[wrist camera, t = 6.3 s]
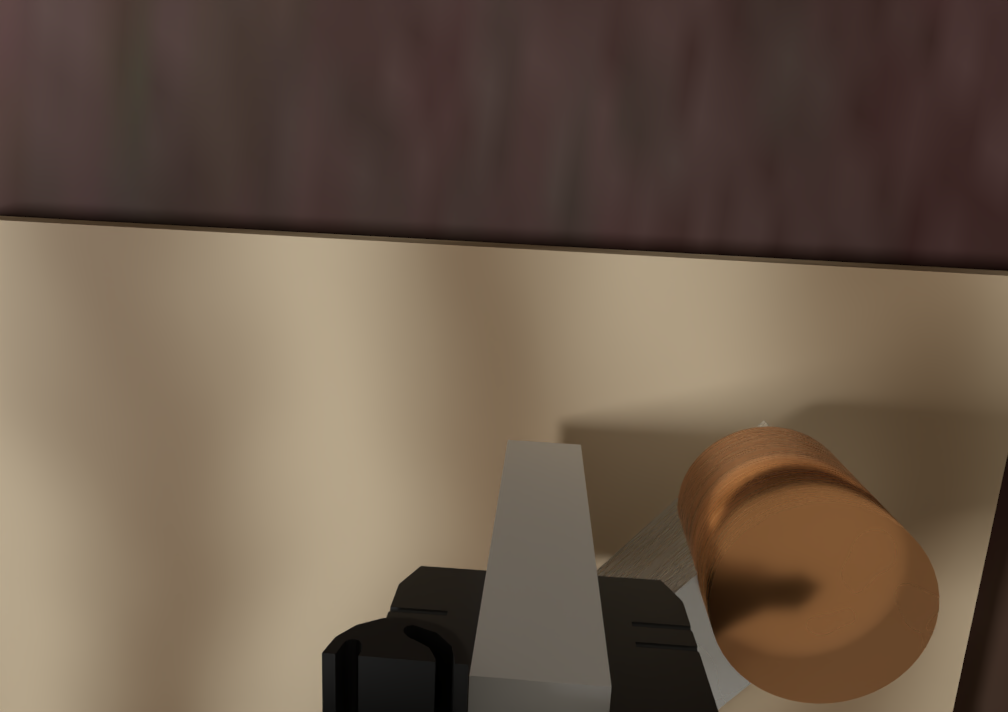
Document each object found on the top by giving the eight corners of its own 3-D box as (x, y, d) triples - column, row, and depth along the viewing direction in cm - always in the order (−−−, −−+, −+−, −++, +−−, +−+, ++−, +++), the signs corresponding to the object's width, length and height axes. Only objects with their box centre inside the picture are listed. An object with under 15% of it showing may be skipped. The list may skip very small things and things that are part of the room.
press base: (47, 877, 19) (-116, 1092, 14) (-30, 214, 15) (-281, 227, 11) (867, 978, 17) (971, 1255, 13) (1011, 271, 14) (1227, 314, 9)
